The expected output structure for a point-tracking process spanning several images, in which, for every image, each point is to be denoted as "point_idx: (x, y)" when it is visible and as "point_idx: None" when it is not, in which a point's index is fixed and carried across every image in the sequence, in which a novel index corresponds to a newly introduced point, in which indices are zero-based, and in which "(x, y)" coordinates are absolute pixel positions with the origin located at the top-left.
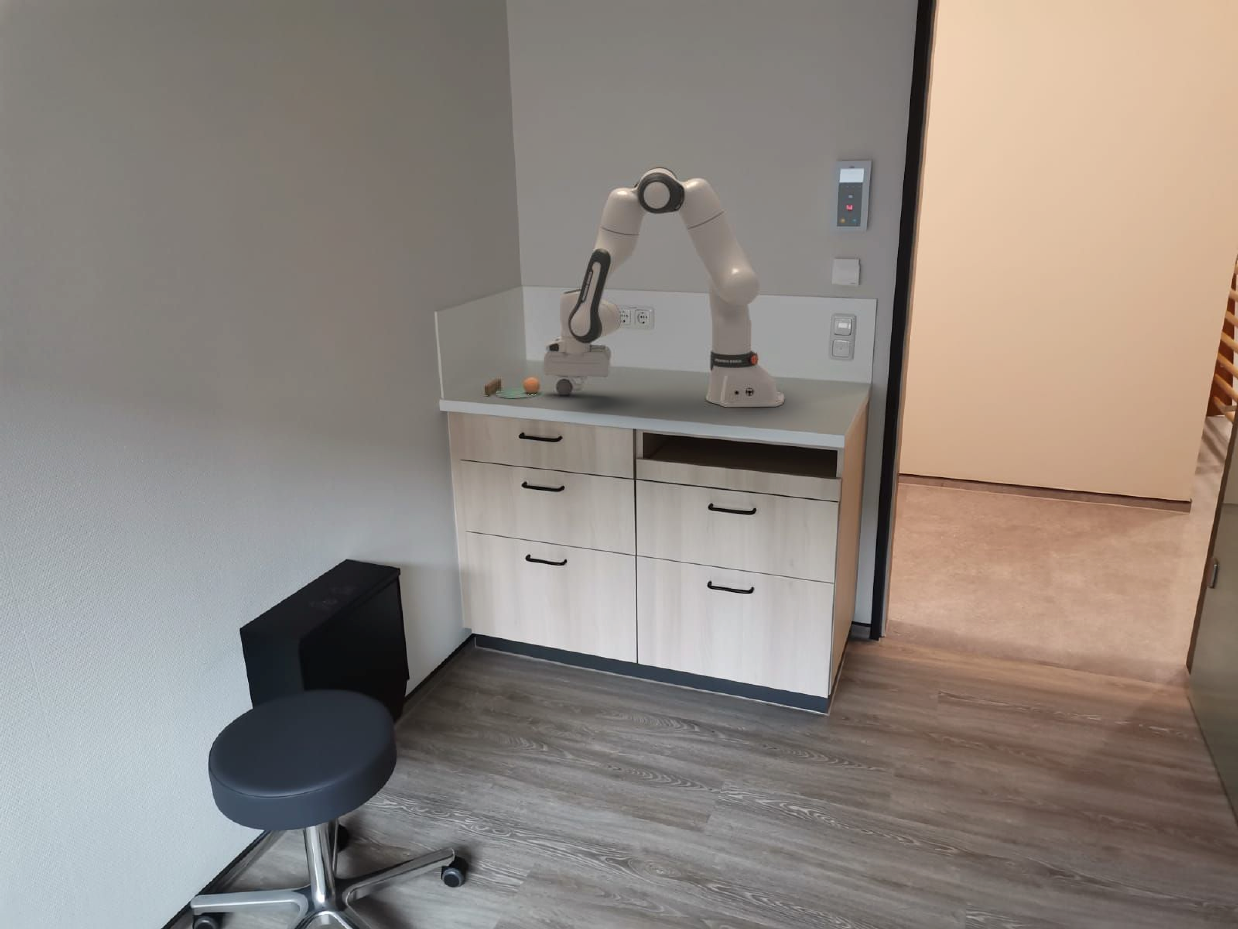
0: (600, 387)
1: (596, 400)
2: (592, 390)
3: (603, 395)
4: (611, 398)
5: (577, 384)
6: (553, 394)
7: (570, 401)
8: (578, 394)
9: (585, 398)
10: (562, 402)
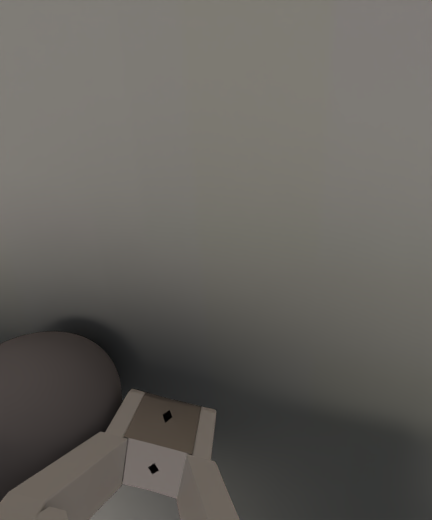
0: (390, 106)
1: (314, 503)
2: (295, 235)
3: (379, 402)
4: (429, 480)
5: (151, 474)
6: (4, 331)
7: (152, 494)
8: (182, 352)
9: (240, 453)
10: (110, 503)
